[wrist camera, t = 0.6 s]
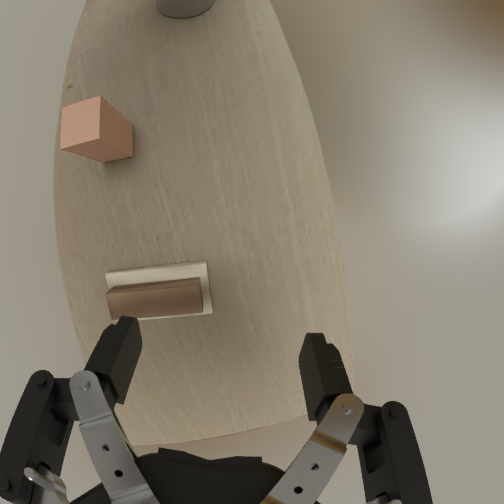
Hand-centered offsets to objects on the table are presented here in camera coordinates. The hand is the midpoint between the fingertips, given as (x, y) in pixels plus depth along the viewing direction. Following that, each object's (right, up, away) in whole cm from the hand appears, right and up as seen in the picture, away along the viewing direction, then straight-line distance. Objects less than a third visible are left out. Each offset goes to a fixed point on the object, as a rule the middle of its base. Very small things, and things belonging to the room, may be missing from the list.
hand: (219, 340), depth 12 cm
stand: (-11, -1, +24) cm, 26 cm away
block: (-17, +19, +19) cm, 31 cm away
